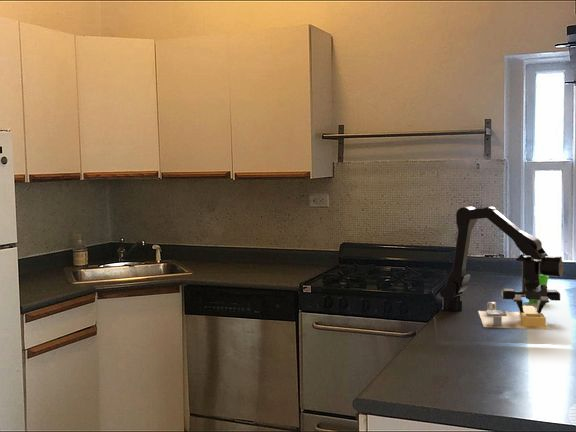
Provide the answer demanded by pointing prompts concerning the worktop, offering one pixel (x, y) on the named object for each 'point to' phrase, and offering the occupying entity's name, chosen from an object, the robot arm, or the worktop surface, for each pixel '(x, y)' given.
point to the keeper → (496, 316)
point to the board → (506, 321)
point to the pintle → (491, 305)
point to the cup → (543, 281)
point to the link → (532, 317)
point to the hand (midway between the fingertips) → (529, 319)
